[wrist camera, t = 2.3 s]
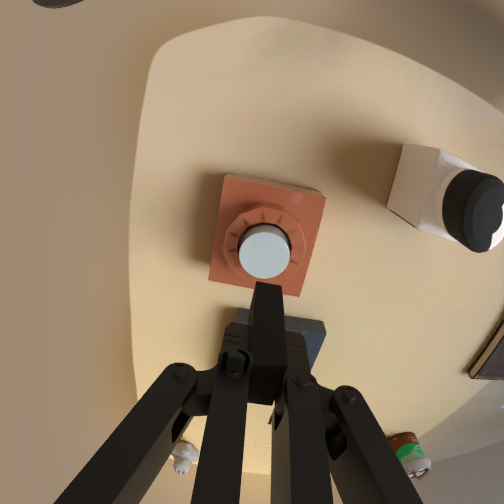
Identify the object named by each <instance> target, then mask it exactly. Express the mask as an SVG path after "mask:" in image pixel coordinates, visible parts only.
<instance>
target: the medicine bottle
mask: <svg viewBox="0 0 504 504" xmlns="http://www.w3.org/2000/svg"><path fill="white" fill-rule="evenodd" d="M387 208H388V209H389V210H390V211H392V212H393V213H394V214H396V215H397V216H399V217H400V218H402V219H403V220H405V221H406V222H407V223H409V224H410V225H412V226H413V227H414V228H416V229H417V230H421V231H424V232H427V233H430V234H433V235H436V236H439V237H442V238H445V239H448V240H451V241H454V242H457V243H459V244H462V245H464V246H465V247H467V248H468V249H470V250H471V251H473V252H477V253H482V252H486V251H488V250H490V249H492V248H493V247H495V246H496V245H497V244H498V243H499V242H500V241H501V239H502V238H503V236H504V183H503V182H502V181H501V180H500V179H499V178H498V177H496V176H493V175H490V174H487V173H485V172H483V171H482V170H480V169H478V168H476V167H475V166H473V165H471V164H469V163H467V162H465V161H464V160H462V159H460V158H458V157H456V156H454V155H452V154H450V153H448V152H446V151H444V150H442V149H440V148H433V147H426V146H419V145H410V144H404V145H403V148H402V152H401V156H400V160H399V164H398V168H397V171H396V175H395V179H394V182H393V186H392V189H391V193H390V196H389V200H388V203H387Z"/></svg>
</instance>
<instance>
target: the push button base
mask: <svg viewBox="0 0 504 504" xmlns="http://www.w3.org/2000/svg"><path fill="white" fill-rule="evenodd" d="M249 311H250V310H248V309H242V308H239V312H238V317H237V322H236V323H241V324H246V325H247V322H248V316H249ZM284 318H285V330H286V331H293V332H299V333H301V334H302V335H303V337H304V338H305V340H306V346H307V347H306V348H307V354H308V359H309V365H310V371H311V369H312V367H313V364H314V362H315V360H316V358H317V355H318V353H319V351H320V348H321V346H322V344H323V341H324V339H325V336H326V330H325V326H324V323H323V322H322V321H315V320H308V319H302V318H295V317H289V316H284Z"/></svg>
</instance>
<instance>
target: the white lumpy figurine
mask: <svg viewBox="0 0 504 504" xmlns="http://www.w3.org/2000/svg"><path fill="white" fill-rule="evenodd" d="M171 455H172V456H173V457H174V459H175V461H174V465H173V466H174V469H175V472H178V473H179V477H180V476H181V474H182V473H183V474H184V475H185V474H186V473H187V471H189V469H190V463H192V462H194V461H196V460H198V458H199V450H198V449H197V448H195V447H194V446H193V445H191V444H189V443H184V442H180V443H177V445H176V446H175V448H174V449H173V451H172V453H171Z"/></svg>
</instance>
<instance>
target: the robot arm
mask: <svg viewBox="0 0 504 504" xmlns="http://www.w3.org/2000/svg"><path fill="white" fill-rule="evenodd" d="M306 347H307V346H306V340H305V338H304V337H303V335H302V334H301V333H299V332H293V331H286V330H285V318H284V306H283V295H282V286H281V285H275V284H270V283H264V282H259V281H256V284H255V289H254V293H253V298H252V302H251V307H250V311H249V316H248V322H247V325H246V324H241V323H235V322H230V323H229V324H228V325H227V326H226V329H225V333H224V338H223V343H222V348H221V352H220V354H219V358H218V364H217V365H216V366H215V367H214V368H212V369H209V370H205V371H196V370H195V369H194V367H192V366H190V365H189V364H185V363H173V364H170V365H169V366H167V367H166V368H165V369H164V371H163V372H162V373H161V374H160V376H159V377H158V378H157V379H156V380H155V382H154V383H153V384H152V385H151V387H150V388H149V389H148V390H147V391H146V393H145V394H144V395H143V396H142V397H141V399H140V400H139V401H138V402H137V404H136V405H135V406H134V407H133V408H132V410H131V411H130V412H129V413H128V415H127V416H126V417H125V418H124V419H123V421H122V422H121V423H120V424H119V426H118V427H117V428H116V429H115V430H114V431H113V433H112V434H111V435H110V436H109V438H108V439H107V440H106V441H105V442H104V444H103V445H102V446H101V447H100V448H99V450H98V451H97V452H96V453H95V454H94V456H93V457H92V458H91V459H90V461H89V462H88V463H87V464H86V465H85V467H84V468H83V469H82V470H81V471H80V472H79V474H78V475H77V476H76V477H75V478H74V480H73V481H72V482H71V483H70V484H69V486H68V487H67V488H66V489H65V490H64V492H63V493H62V494H61V495H60V496H59V498H58V499H57V500H56V501H55V502H54V504H139V503H140V501H141V499H142V498H143V496H144V495H145V493H146V492H147V490H148V489H149V487H150V486H151V484H152V483H153V481H154V479H155V478H156V476H157V475H158V473H159V472H160V470H161V469H162V467H163V465H164V464H165V462H166V461H167V459H168V457H169V456H170V454H171V453H172V451H173V449H174V448H175V446H176V445H177V443H178V441H179V440H180V438H181V436H182V435H183V433H184V432H185V430H186V428H187V427H188V425H189V423H190V422H191V420H192V418H193V416H205V415H207V420H206V425H205V431H204V436H203V441H202V446H201V451H200V456H199V462H198V467H197V472H196V477H195V483H194V489H193V493H192V499H191V504H239V498H240V487H241V474H242V463H243V450H244V438H245V425H246V413H247V402H248V403H255V404H263V405H271V406H272V405H273V402H274V400H275V408H274V410H273V412H272V415H271V417H270V419H269V422H268V424H271V422H272V456H271V504H333V495H332V486H331V477H330V473H331V475H332V478H333V480H334V482H335V485H336V487H337V490H338V492H339V495H340V497H341V499H342V502H343V504H423V502H422V500H421V499H420V497H419V495H418V493H417V491H416V489H415V488H414V486H413V484H412V482H411V480H410V478H409V477H408V475H407V473H406V471H405V469H404V468H403V466H402V464H401V462H400V461H399V459H398V457H397V455H396V453H395V452H394V450H393V448H392V446H391V445H390V443H389V441H388V439H387V438H386V436H385V434H384V432H383V431H382V429H381V427H380V425H379V424H378V422H377V420H376V418H375V417H374V415H373V413H372V411H371V410H370V408H369V406H368V405H367V403H366V401H365V399H364V398H363V396H362V394H361V393H360V392H359V391H358V390H357V389H355V388H354V387H351V386H344V385H343V386H340V387H338V388H337V389H336V390H335V391H334V390H331V389H328V388H325V387H323V386H321V385H319V384H318V383H317V381H316V378H315V377H314V376H313V375H312V374H311V372H310V365H309V359H308V354H307V348H306Z"/></svg>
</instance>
